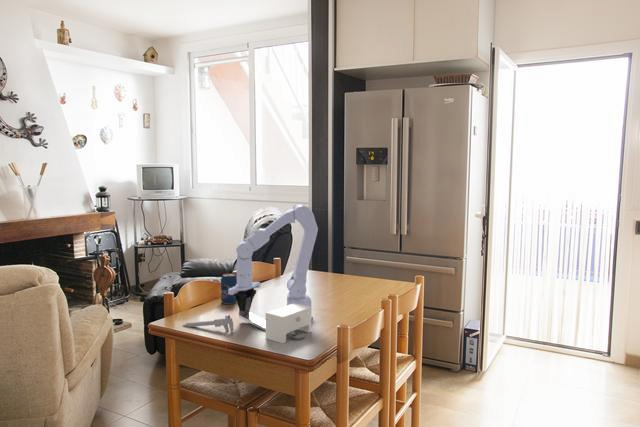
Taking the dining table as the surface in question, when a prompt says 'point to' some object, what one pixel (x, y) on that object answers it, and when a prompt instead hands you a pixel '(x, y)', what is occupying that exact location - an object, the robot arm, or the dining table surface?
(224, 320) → the caliper
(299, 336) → the token
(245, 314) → the grey piece
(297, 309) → the cabinet
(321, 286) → the dining table surface
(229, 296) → the soda can
